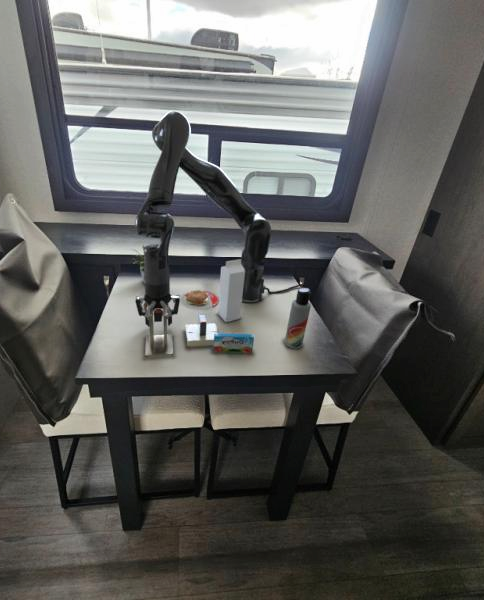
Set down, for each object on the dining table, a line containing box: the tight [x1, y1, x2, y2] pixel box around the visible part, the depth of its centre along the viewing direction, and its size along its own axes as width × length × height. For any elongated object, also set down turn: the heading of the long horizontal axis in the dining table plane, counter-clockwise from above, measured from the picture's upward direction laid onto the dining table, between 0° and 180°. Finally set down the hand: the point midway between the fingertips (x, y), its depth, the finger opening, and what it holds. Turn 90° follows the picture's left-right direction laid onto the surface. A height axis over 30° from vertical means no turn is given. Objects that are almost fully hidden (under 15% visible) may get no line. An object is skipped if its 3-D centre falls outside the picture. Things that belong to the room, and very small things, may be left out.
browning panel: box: [184, 322, 219, 347], centre depth 101 cm, size 10×9×3 cm
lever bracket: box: [144, 308, 174, 357], centre depth 94 cm, size 10×8×13 cm
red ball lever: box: [153, 308, 163, 323], centre depth 97 cm, size 13×3×3 cm, turn 10°
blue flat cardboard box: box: [212, 333, 255, 354], centre depth 96 cm, size 12×2×6 cm, turn 93°
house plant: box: [131, 243, 145, 285], centre depth 132 cm, size 14×14×16 cm
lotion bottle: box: [284, 287, 312, 349], centre depth 98 cm, size 6×6×20 cm
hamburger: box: [183, 289, 219, 307], centre depth 123 cm, size 14×14×6 cm
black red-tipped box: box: [197, 314, 208, 336], centre depth 99 cm, size 5×2×5 cm, turn 9°
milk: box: [217, 258, 245, 323], centre depth 110 cm, size 6×6×22 cm
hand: (158, 324), depth 104 cm, fingers open, 6 cm apart
